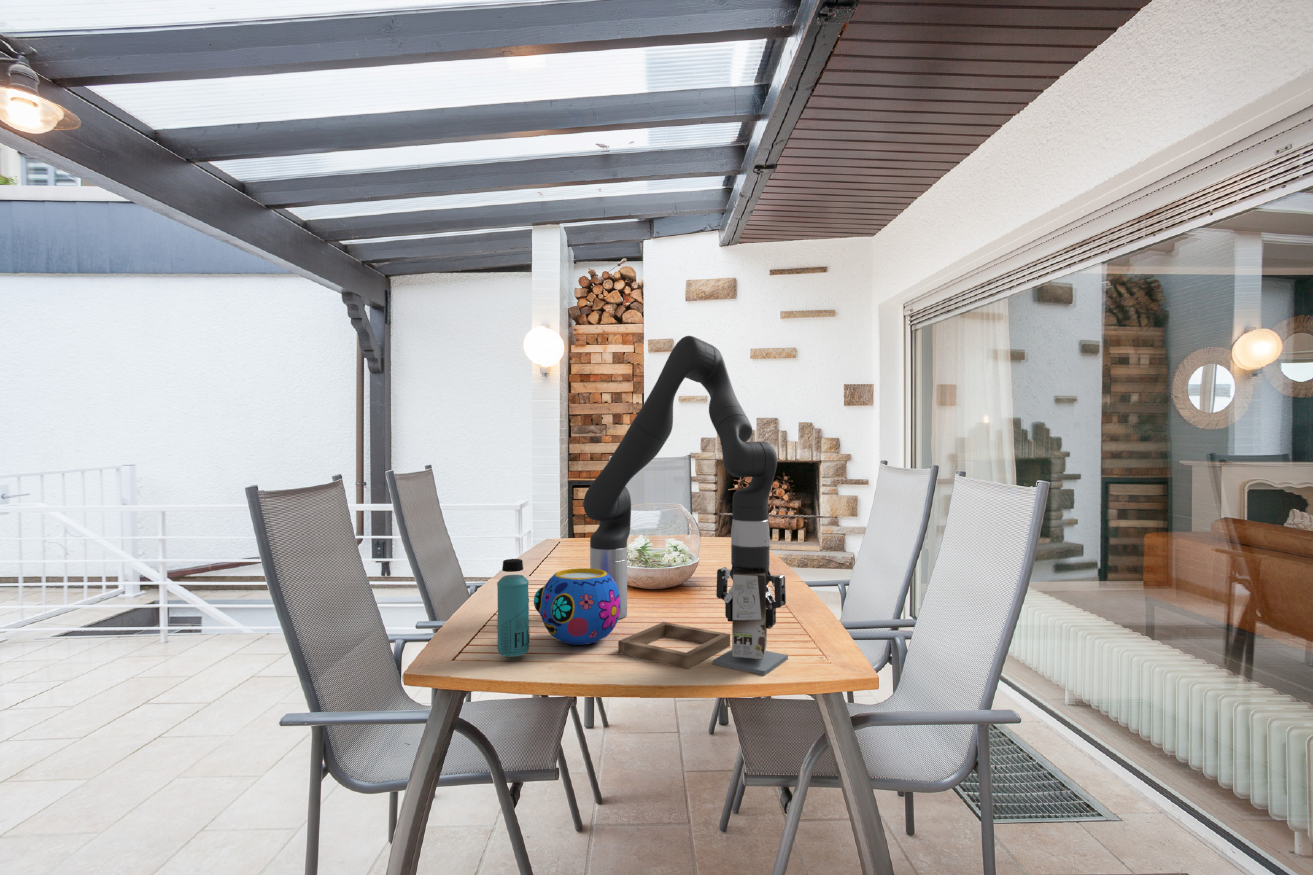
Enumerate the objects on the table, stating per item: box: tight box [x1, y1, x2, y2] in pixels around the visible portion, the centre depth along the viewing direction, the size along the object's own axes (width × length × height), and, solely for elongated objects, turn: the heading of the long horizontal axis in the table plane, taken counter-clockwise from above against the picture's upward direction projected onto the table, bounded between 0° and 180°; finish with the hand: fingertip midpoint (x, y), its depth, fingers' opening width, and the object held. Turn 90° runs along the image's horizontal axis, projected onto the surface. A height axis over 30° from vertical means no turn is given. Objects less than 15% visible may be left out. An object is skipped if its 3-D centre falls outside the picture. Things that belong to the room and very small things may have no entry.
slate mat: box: [712, 648, 789, 676], centre depth 129 cm, size 11×11×1 cm
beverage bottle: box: [496, 558, 531, 657], centre depth 131 cm, size 6×7×20 cm
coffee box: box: [731, 570, 768, 659], centre depth 129 cm, size 9×6×16 cm
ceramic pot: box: [533, 567, 621, 646], centre depth 142 cm, size 18×18×15 cm
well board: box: [617, 621, 731, 670], centre depth 137 cm, size 17×17×2 cm
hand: (750, 624), depth 129 cm, fingers closed on coffee box, 8 cm apart
